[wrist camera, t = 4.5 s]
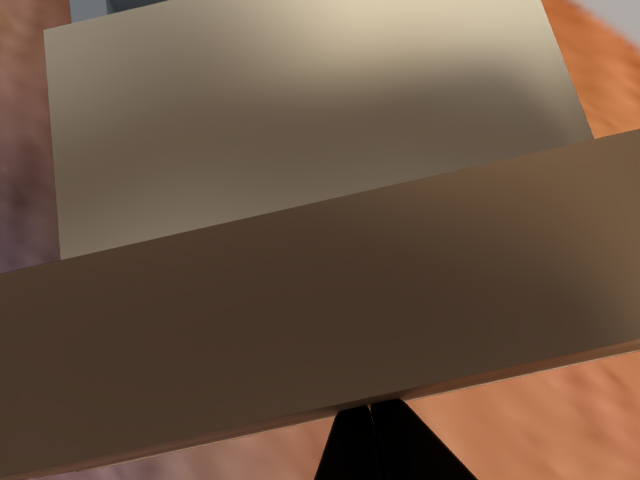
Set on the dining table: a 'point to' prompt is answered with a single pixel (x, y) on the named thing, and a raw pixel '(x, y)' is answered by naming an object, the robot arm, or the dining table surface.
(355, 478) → the robot arm
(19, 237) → the dining table surface
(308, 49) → the birch lid
